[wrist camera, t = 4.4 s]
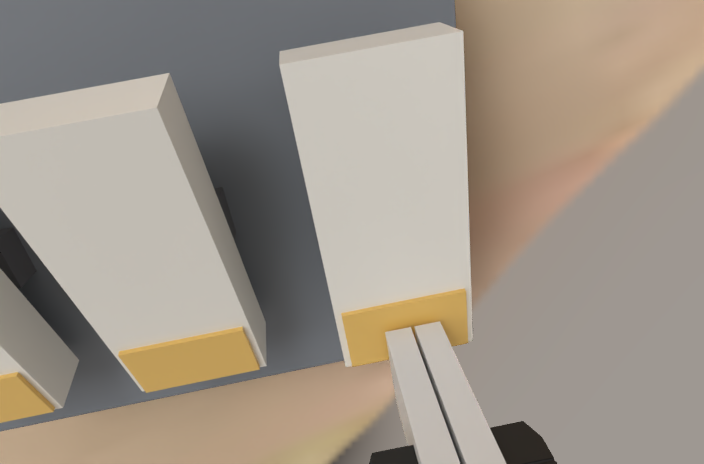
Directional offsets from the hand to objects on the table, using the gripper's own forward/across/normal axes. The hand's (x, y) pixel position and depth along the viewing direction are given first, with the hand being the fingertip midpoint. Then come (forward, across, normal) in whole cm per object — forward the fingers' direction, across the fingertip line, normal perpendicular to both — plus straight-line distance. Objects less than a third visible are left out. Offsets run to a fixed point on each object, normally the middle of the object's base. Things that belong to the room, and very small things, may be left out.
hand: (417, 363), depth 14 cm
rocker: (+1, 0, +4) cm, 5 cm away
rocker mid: (+1, -7, +4) cm, 8 cm away
